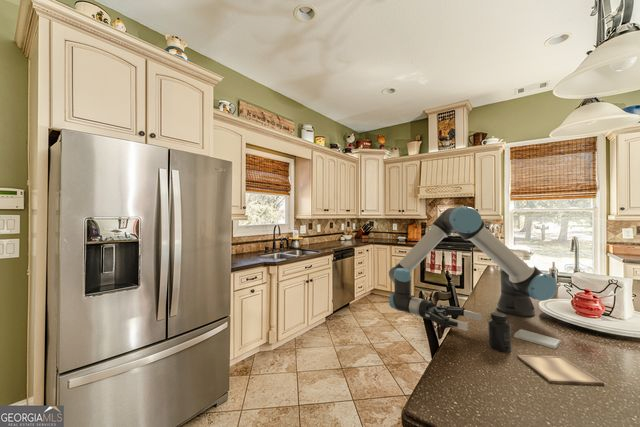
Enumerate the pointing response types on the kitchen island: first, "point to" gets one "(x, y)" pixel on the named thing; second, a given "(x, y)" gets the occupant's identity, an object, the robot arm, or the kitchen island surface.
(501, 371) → the kitchen island surface
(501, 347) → the supplement bottle
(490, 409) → the kitchen island surface
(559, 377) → the cork mat
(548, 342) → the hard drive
